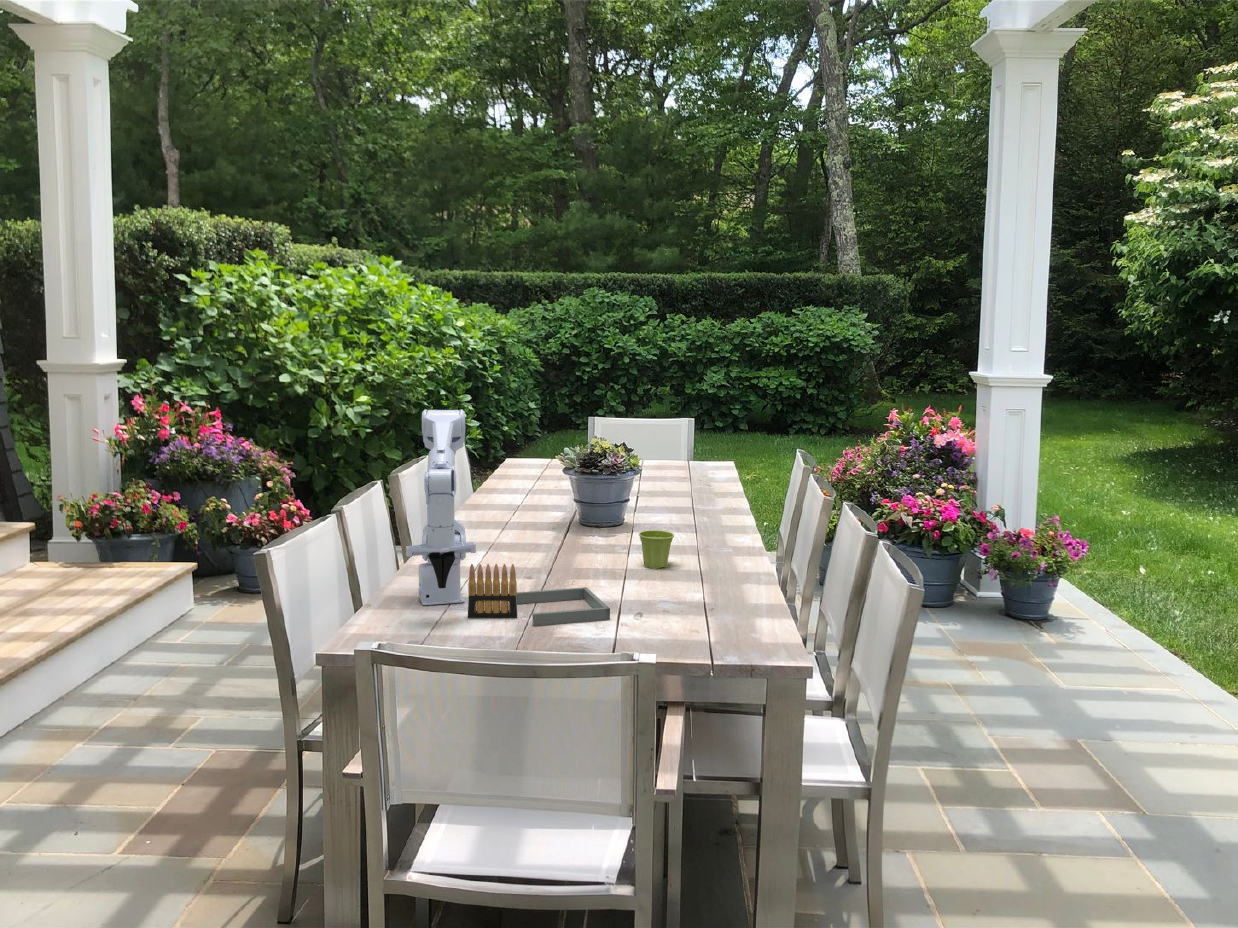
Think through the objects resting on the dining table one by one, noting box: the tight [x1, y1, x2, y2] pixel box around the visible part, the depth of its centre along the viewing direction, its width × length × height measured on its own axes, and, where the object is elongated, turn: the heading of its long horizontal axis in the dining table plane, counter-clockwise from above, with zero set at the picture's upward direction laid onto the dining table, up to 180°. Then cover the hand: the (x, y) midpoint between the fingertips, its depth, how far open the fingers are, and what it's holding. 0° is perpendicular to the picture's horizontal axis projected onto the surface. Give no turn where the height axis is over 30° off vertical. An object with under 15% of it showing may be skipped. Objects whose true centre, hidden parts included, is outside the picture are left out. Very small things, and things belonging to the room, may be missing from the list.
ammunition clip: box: [467, 563, 518, 619], centre depth 225 cm, size 11×2×12 cm, turn 93°
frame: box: [517, 586, 611, 627], centre depth 231 cm, size 17×18×2 cm
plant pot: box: [638, 529, 675, 570], centre depth 272 cm, size 9×9×9 cm
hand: (441, 587), depth 222 cm, fingers closed
